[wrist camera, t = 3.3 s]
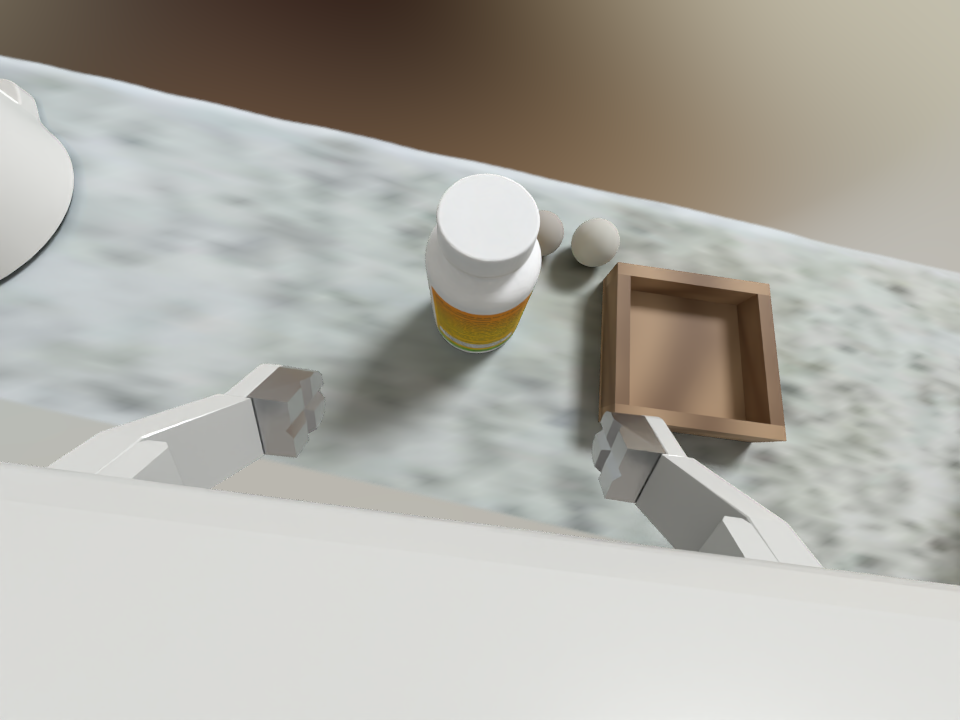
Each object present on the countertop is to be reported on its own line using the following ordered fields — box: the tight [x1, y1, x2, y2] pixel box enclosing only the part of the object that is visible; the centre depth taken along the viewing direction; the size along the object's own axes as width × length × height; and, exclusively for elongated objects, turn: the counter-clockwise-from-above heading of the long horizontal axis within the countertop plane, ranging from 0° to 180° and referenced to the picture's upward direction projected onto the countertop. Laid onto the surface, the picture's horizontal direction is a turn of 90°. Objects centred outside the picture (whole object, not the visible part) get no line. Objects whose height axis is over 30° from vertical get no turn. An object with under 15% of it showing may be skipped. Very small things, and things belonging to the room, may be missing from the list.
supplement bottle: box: [425, 174, 541, 353], centre depth 18 cm, size 5×5×10 cm
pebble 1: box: [537, 210, 564, 256], centre depth 23 cm, size 3×3×3 cm
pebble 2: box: [571, 218, 620, 267], centre depth 23 cm, size 3×3×3 cm
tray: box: [598, 262, 786, 442], centre depth 21 cm, size 10×10×2 cm
